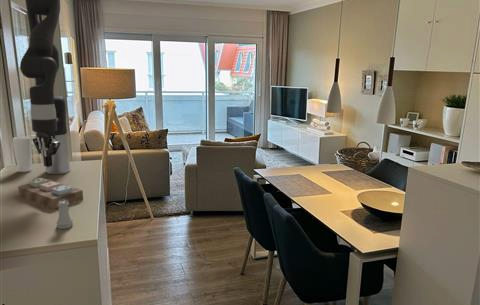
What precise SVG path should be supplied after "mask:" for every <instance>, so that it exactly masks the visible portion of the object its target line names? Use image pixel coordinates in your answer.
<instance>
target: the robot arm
mask: <svg viewBox="0 0 480 305" xmlns="http://www.w3.org/2000/svg"><path fill="white" fill-rule="evenodd" d="M24 1H25V7H26V12H27V13H26V14H27V19H28V26H29V31H30V35H29V43H28V47H27V49H26V51H25V53H24V54H23V55H22V58H21V60H20V62H19V64H20V66H19V69H20V71H21V74H22V75H23V76H24V77H26V78H28V79H35V85H32V86H31V87H29V99H30V100H29V101H30V120H31V129H32V132H33V133H35V135H36V136H35V138H32V142H33V144H34V146H35V149H36V150H37V152H38V154H41V156H42V157H43V166H44V167H45V172H46V173H47V174H49V175H61V174H66V173H69V172H70V171H71V166H70V156H69V155H70V153H69V152H70V151H69V139H68V129H67V128H68V127H67V105H66V99H65V98H64V96H54V89H55V88H54V87H55V82H56V78H57V74H58V73H57V72H59V68H60V57H59V56H60V55H59V50H58V48H57V46H56V45H55V44H54V39H55V37H54V36H55V33H56V28H57V26H58V21H59V18H60V15H61V14H60V12H61V0H24ZM39 16H44V18H43V19H42V20H40V18H39Z"/></svg>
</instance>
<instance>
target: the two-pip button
mask: <svg viewBox="0 0 480 305" xmlns="http://www.w3.org/2000/svg"><path fill="white" fill-rule="evenodd" d="M65 185H66V184H65ZM65 185H63V186H59V187H55V188H52V193H53V194H55V195H58V196H61V195H65V194H68V193H71V192H72V188H71V187H72V186H71V187H68V186H69V185H68V186H65Z"/></svg>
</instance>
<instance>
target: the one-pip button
mask: <svg viewBox="0 0 480 305" xmlns="http://www.w3.org/2000/svg"><path fill="white" fill-rule="evenodd" d="M56 182H57V181H56ZM56 182H48V183H44V184H40V188H41V190H44V191H47V192H48V191H52V188H55V187H59V186H60V185H59V183H60V182H59V183H56Z"/></svg>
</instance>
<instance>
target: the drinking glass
mask: <svg viewBox="0 0 480 305" xmlns="http://www.w3.org/2000/svg"><path fill="white" fill-rule="evenodd" d="M12 147H13V152H14V156H15V162H16V166H17V171H18V173H27V172H28V173H29V172H31V171H32V170H33V165H32V154H33V153H32V151H33V150H32V149H33V147H32V139H31V136H24V135H23V136H16V137H12Z"/></svg>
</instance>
